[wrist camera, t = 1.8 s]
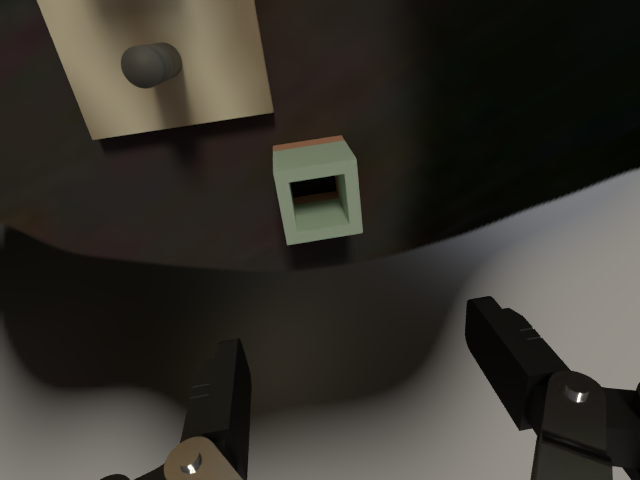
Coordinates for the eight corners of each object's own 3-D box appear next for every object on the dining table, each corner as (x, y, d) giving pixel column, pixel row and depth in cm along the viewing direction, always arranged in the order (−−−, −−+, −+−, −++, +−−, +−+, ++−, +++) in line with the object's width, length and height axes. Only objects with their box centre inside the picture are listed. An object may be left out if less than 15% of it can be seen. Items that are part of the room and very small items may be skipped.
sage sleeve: (341, 135, 29) (356, 158, 24) (347, 198, 32) (362, 232, 26) (273, 145, 29) (273, 171, 24) (284, 208, 31) (287, 245, 26)
